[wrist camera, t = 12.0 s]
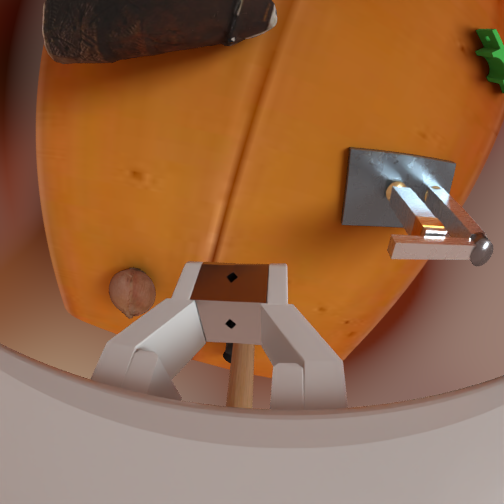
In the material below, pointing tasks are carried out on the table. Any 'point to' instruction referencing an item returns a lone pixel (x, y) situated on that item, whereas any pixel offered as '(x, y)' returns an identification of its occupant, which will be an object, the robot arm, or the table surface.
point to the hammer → (240, 374)
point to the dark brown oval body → (147, 26)
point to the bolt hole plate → (388, 183)
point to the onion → (132, 292)
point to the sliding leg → (414, 214)
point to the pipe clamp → (492, 55)
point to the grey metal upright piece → (454, 247)
